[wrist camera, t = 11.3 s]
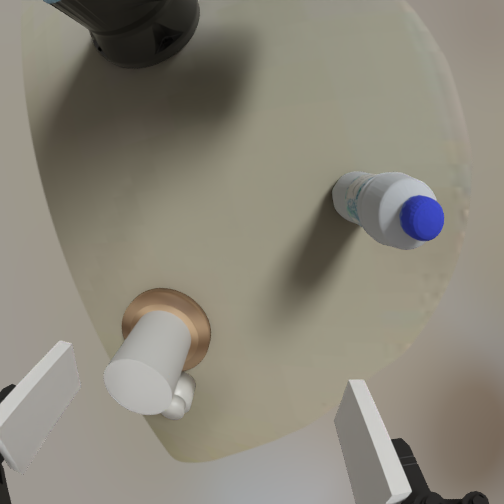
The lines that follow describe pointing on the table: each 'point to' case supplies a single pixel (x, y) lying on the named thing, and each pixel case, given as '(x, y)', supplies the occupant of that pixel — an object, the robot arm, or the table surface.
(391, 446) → the robot arm
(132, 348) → the white cylindrical piece
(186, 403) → the white knobbed rounded part
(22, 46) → the table surface
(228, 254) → the table surface
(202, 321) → the brown wooden plate
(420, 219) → the bottle
